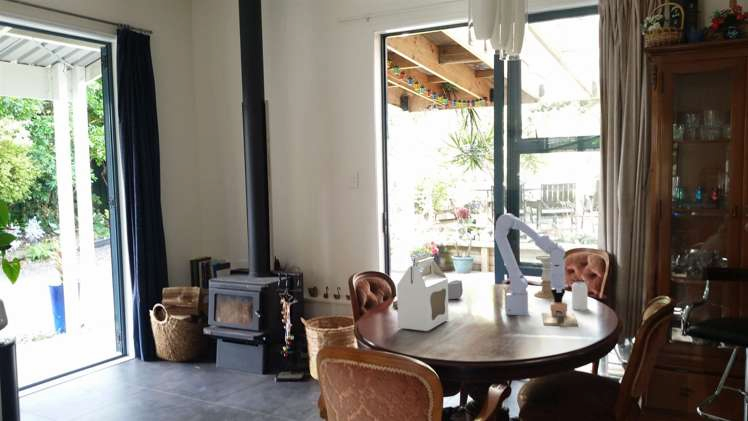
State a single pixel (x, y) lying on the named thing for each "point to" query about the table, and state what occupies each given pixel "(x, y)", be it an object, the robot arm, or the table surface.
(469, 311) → the table surface
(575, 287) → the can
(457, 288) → the decorative stone
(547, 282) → the candle holder
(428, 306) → the gable box
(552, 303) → the block
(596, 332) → the table surface
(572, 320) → the rail board
